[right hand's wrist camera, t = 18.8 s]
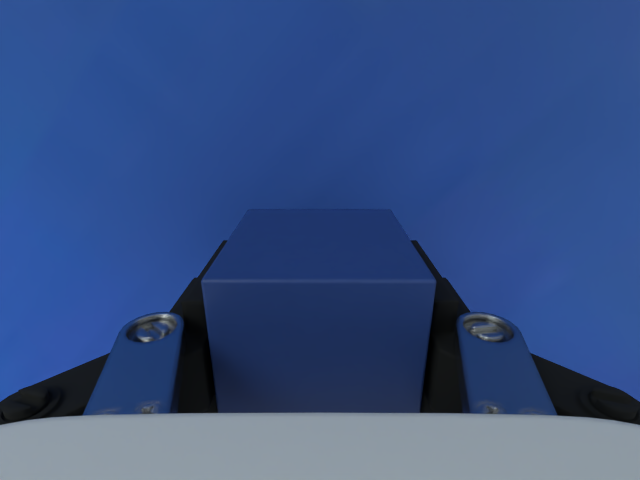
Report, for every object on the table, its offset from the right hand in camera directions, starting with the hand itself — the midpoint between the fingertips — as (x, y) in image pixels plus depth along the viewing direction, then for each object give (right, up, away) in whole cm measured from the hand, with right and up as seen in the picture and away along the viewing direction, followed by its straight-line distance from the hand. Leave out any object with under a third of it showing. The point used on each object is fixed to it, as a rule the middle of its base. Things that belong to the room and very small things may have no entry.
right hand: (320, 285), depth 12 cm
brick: (0, 0, +1) cm, 1 cm away
